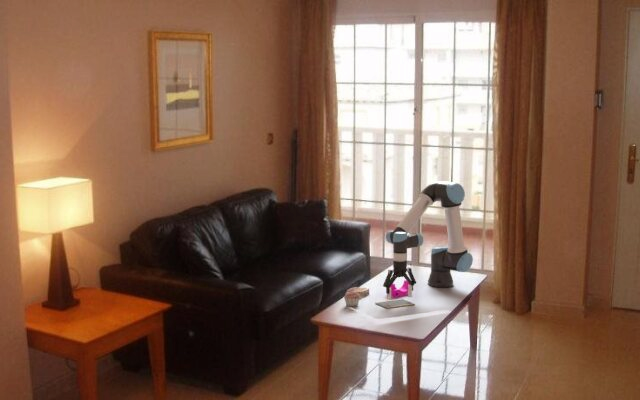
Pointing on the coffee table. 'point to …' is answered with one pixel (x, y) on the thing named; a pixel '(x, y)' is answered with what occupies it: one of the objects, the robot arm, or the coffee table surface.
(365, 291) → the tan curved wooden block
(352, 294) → the cupcake
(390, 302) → the mat
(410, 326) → the coffee table surface
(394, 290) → the toy block
